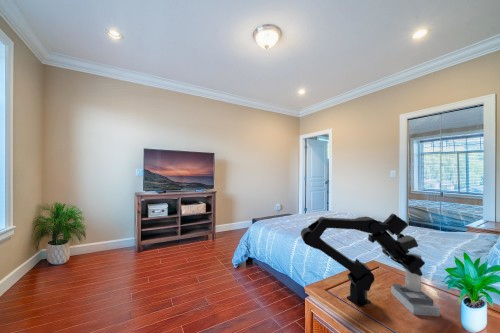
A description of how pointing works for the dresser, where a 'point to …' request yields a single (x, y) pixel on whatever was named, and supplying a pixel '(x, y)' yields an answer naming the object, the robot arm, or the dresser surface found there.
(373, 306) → the dresser surface
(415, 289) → the lidded container
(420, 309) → the digital kitchen scale
